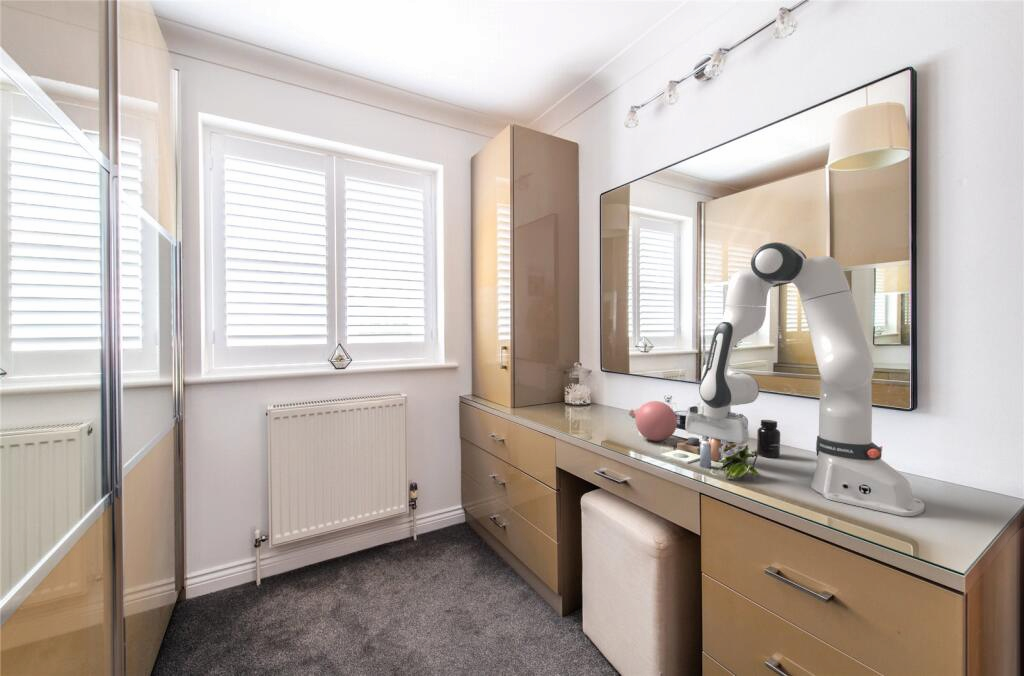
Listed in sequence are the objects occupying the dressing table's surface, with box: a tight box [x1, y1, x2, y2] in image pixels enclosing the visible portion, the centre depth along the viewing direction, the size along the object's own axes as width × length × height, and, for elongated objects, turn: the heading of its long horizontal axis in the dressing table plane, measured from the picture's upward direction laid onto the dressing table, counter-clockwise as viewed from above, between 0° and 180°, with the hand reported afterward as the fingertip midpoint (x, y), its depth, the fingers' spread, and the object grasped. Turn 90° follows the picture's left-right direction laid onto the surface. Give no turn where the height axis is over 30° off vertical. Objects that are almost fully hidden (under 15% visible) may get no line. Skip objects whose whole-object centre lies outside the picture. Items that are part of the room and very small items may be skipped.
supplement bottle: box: [756, 419, 781, 459], centre depth 145 cm, size 7×7×12 cm
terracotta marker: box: [709, 437, 722, 462], centre depth 140 cm, size 3×3×8 cm
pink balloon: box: [627, 400, 678, 442], centre depth 167 cm, size 15×20×15 cm
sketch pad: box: [660, 449, 700, 464], centre depth 144 cm, size 10×10×1 cm
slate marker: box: [699, 440, 712, 469], centre depth 134 cm, size 3×3×8 cm
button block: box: [676, 440, 701, 455], centre depth 151 cm, size 8×8×2 cm
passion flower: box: [718, 443, 760, 481], centre depth 124 cm, size 11×11×12 cm
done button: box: [687, 436, 700, 446], centre depth 151 cm, size 4×4×3 cm
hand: (715, 451), depth 141 cm, fingers closed on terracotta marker, 3 cm apart
